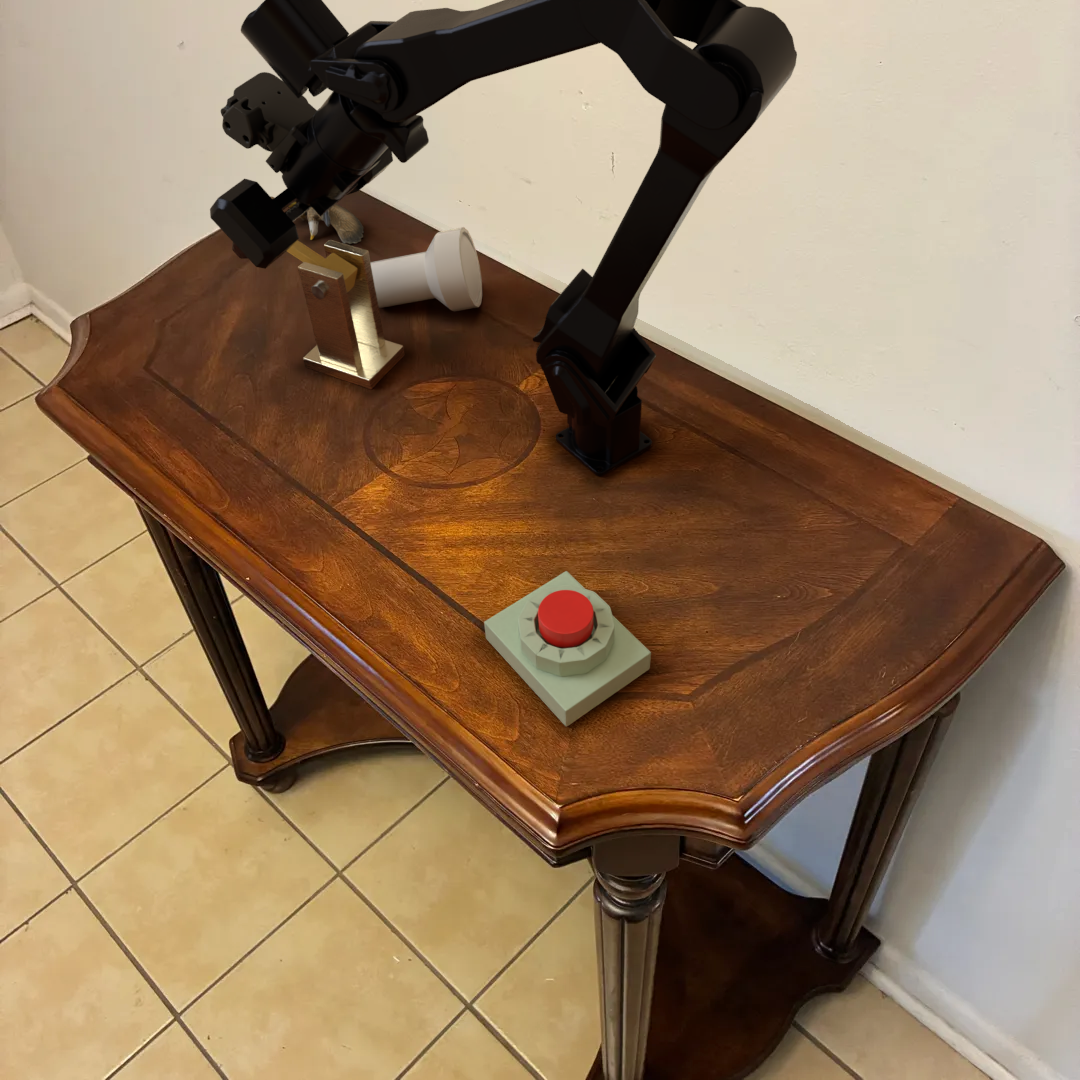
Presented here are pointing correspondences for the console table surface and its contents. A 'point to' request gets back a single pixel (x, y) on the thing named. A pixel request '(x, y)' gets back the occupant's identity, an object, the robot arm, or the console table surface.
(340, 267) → the switch lever
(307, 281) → the switch bracket
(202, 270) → the console table surface
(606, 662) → the button box
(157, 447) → the console table surface
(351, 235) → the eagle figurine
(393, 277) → the spotlight
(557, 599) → the red button
